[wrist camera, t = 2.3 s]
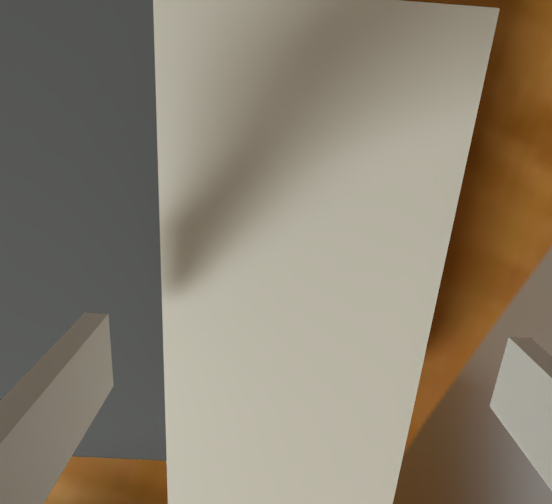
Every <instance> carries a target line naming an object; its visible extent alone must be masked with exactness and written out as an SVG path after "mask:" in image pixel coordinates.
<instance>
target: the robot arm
mask: <svg viewBox="0 0 552 504" xmlns="http://www.w3.org/2000/svg"><path fill="white" fill-rule="evenodd" d="M113 386H114V385H113V371H112V357H111V343H110V329H109V315H108V314H102V313H84V314H83V315H82V316H81V317H80V318H79V319H78V320H77V321H76V322H75V323H74V324H73V325H72V326H71V327H70V328H69V329H68V330H67V331H66V332H65V333H64V335H63V336H62V337H61V338H60V339H59V340H58V341H57V342H56V343H55V344H54V345H53V346H52V347H51V348H50V349H49V350H48V351H47V352H46V353H45V354H44V355H43V356H42V357H41V359H40V360H39V361H38V362H37V363H36V364H35V365H34V366H33V367H32V368H31V369H30V370H29V371H28V372H27V373H26V374H25V375H24V376H23V377H22V378H21V379H20V380H19V382H18V383H17V384H16V385H15V386H14V387H13V388H12V389H11V390H10V391H9V392H8V393H7V394H6V395H5V396H4V397H3V398H2V399H0V504H44V502H45V500H46V499H47V497H48V495H49V494H50V492H51V490H52V489H53V487H54V485H55V484H56V482H57V480H58V479H59V477H60V475H61V474H62V472H63V470H64V468H65V467H66V465H67V463H68V462H69V460H70V458H71V457H72V455H73V453H74V452H75V450H76V448H77V447H78V445H79V443H80V442H81V440H82V438H83V436H84V435H85V433H86V431H87V430H88V428H89V426H90V425H91V423H92V421H93V420H94V418H95V416H96V415H97V413H98V411H99V410H100V408H101V406H102V404H103V403H104V401H105V399H106V398H107V396H108V394H109V393H110V391H111V389H112V388H113ZM490 407H491V409H492V410H493V411H494V413H495V414H496V415H497V417H498V418H499V420H500V421H501V422H502V424H503V425H504V427H505V428H506V429H507V431H508V432H509V433H510V435H511V436H512V437H513V439H514V440H515V441H516V443H517V444H518V446H519V447H520V448H521V450H522V451H523V452H524V454H525V455H526V456H527V458H528V459H529V460H530V462H531V463H532V465H533V466H534V467H535V469H536V470H537V472H538V473H539V474H540V476H541V477H542V478H543V480H544V481H545V483H546V484H547V485H548V487H549V488H550V489H551V491H552V356H551V355H550V354H549V353H547V351H545V350H544V349H543V348H542V347H541V346H540V345H539V344H537V343H536V342H535V341H534V340H533V339H532V338H516V337H509V338H508V342H507V345H506V350H505V353H504V356H503V360H502V363H501V367H500V371H499V375H498V378H497V381H496V385H495V389H494V392H493V396H492V400H491V403H490Z"/></svg>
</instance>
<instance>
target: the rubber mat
mask: <svg viewBox="0 0 552 504" xmlns="http://www.w3.org/2000/svg"><path fill="white" fill-rule="evenodd" d="M84 313H102V314H108V315H109V329H110V343H111V357H112V371H113V385H114V386H113V388H112V389H111V391H110V393H109V394H108V396H107V398H106V399H105V401H104V403H103V404H102V406H101V408H100V410H99V411H98V413H97V415H96V416H95V418H94V420H93V421H92V423H91V425H90V426H89V428H88V430H87V431H86V433H85V435H84V436H83V438H82V440H81V442H80V443H79V445H78V447H77V448H76V450H75V452H74V453H73V455H72V456H79V457H101V458H123V459H146V460H167V457H166V423H165V389H164V355H163V321H162V287H161V253H160V219H159V185H158V151H157V117H156V83H155V49H154V15H153V0H0V399H2V398H3V397H4V396H5V395H6V394H7V393H8V392H9V391H10V390H11V389H12V388H13V387H14V386H15V385H16V384H17V383H18V382H19V380H20V379H21V378H22V377H23V376H24V375H25V374H26V373H27V372H28V371H29V370H30V369H31V368H32V367H33V366H34V365H35V364H36V363H37V362H38V361H39V360H40V359H41V357H42V356H43V355H44V354H45V353H46V352H47V351H48V350H49V349H50V348H51V347H52V346H53V345H54V344H55V343H56V342H57V341H58V340H59V339H60V338H61V337H62V336H63V335H64V333H65V332H66V331H67V330H68V329H69V328H70V327H71V326H72V325H73V324H74V323H75V322H76V321H77V320H78V319H79V318H80V317H81V316H82V315H83V314H84Z"/></svg>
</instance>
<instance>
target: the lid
mask: <svg viewBox="0 0 552 504" xmlns="http://www.w3.org/2000/svg"><path fill="white" fill-rule="evenodd" d="M499 10H500V8H493V7H480V6H467V5H454V4H441V3H428V2H416V1H403V0H153V15H154V49H155V83H156V117H157V151H158V185H159V219H160V253H161V287H162V321H163V355H164V389H165V423H166V457H167V491H168V504H393V499H394V495H395V490H396V486H397V481H398V476H399V472H400V467H401V462H402V458H403V453H404V449H405V444H406V439H407V435H408V430H409V426H410V421H411V416H412V412H413V407H414V403H415V398H416V393H417V389H418V384H419V379H420V375H421V370H422V366H423V361H424V356H425V352H426V347H427V342H428V338H429V333H430V329H431V324H432V319H433V315H434V310H435V306H436V301H437V296H438V292H439V287H440V282H441V278H442V273H443V269H444V264H445V259H446V255H447V250H448V245H449V241H450V236H451V232H452V227H453V222H454V218H455V213H456V209H457V204H458V199H459V195H460V190H461V185H462V181H463V176H464V172H465V167H466V162H467V158H468V153H469V149H470V144H471V139H472V135H473V130H474V125H475V121H476V116H477V112H478V107H479V102H480V98H481V93H482V88H483V84H484V79H485V75H486V70H487V65H488V61H489V56H490V52H491V47H492V42H493V38H494V33H495V28H496V24H497V19H498V15H499Z"/></svg>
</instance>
